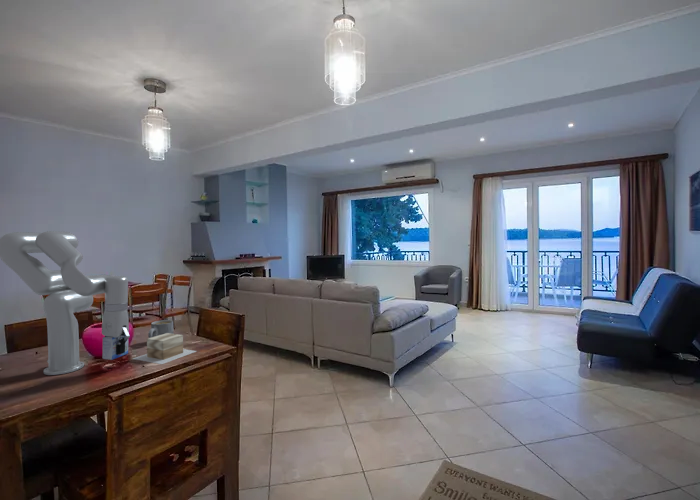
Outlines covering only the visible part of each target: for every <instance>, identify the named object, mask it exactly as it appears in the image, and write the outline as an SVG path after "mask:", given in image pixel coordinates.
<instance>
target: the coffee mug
mask: <svg viewBox="0 0 700 500" xmlns="http://www.w3.org/2000/svg"><path fill="white" fill-rule="evenodd" d="M150 327H151V328H150V329H149V330H148V334H147V336H148V338H151V337H155V336H158V335H162V334H165V333H171V334H174V320H171V319H162V320H156V321H153V322H151V324H150Z"/></svg>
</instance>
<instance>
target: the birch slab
mask: <svg viewBox="0 0 700 500" xmlns="http://www.w3.org/2000/svg"><path fill="white" fill-rule="evenodd" d="M181 344H183V345H184V335H183V334H177V333H173V334H171V333H165V334H162V335H158V336H155V337H151V338H149V337H148V338H146V349H147V348H151V349H157V350H166V349H169V348H172V347H175V346H178V345H181Z"/></svg>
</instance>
